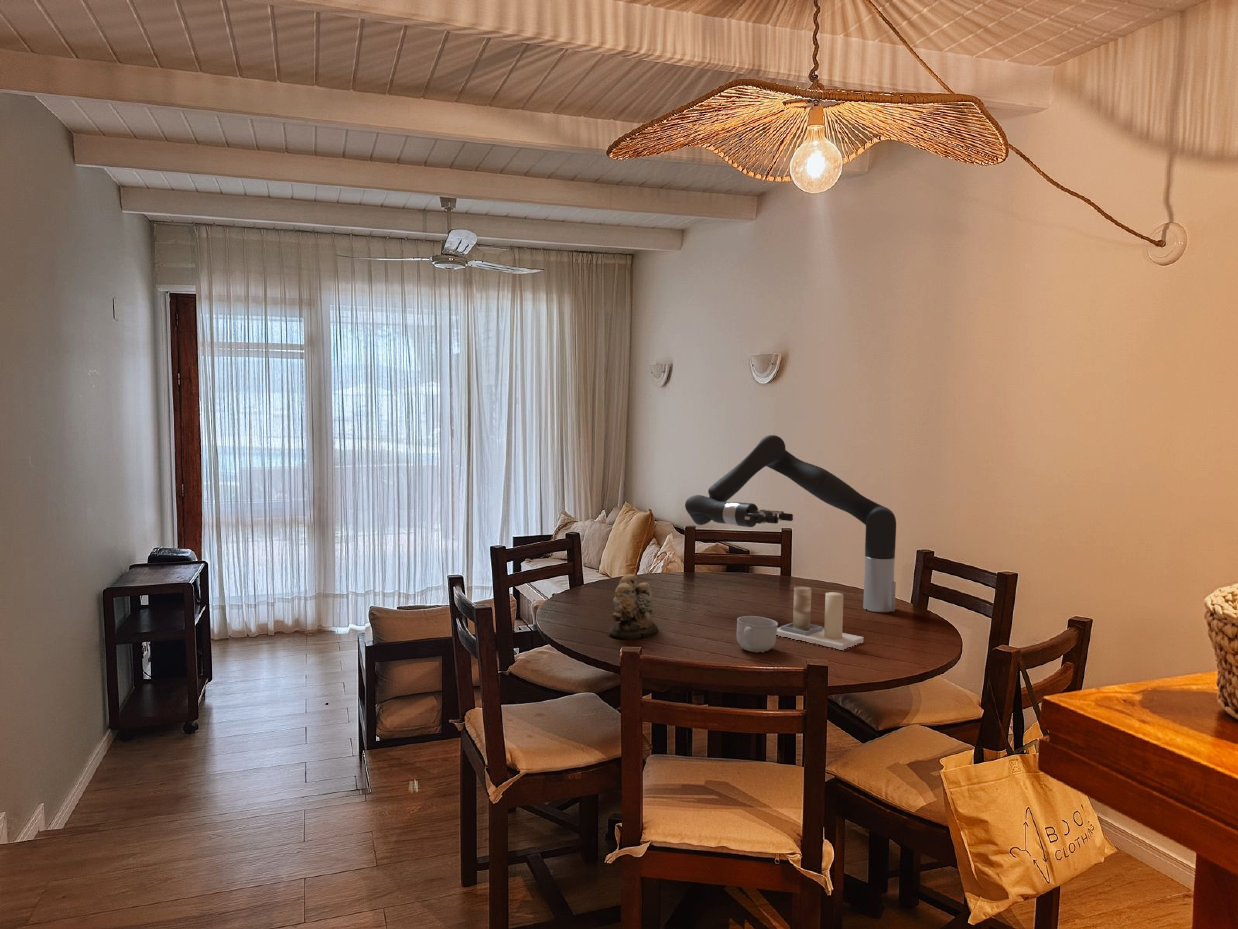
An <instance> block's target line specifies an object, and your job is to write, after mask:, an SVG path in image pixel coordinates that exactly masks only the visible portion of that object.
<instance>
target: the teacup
mask: <svg viewBox="0 0 1238 929" xmlns="http://www.w3.org/2000/svg"><path fill="white" fill-rule="evenodd" d="M736 623H737V624H736V641H737V643H738V644H739V646H741V647H742V649H743V650H744V651H748V652H751V653H759V652H761V653H766V652H765V651H767V652H768V651H769V650H771V649H773V648H774V647H775V644H776V642H777V636H776V635H777V628H778V626H779V623H778V622H777V621H776V620H774V619H772V618H768V617H763V616H757V615H756V616H755V615H743V616H740V617H737V618H736Z"/></svg>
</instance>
